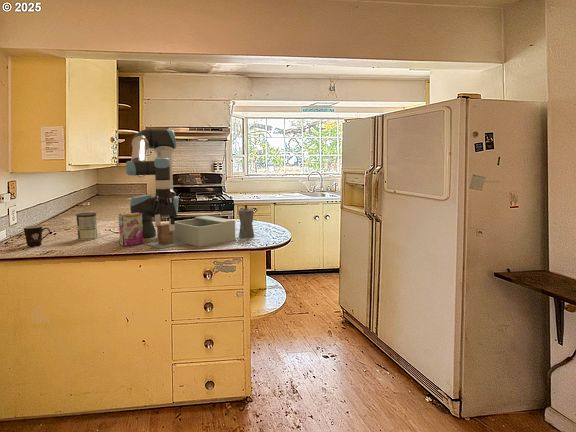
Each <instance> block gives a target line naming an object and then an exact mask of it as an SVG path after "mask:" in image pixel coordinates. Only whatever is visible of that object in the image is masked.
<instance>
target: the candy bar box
mask: <svg viewBox="0 0 576 432" xmlns="http://www.w3.org/2000/svg"><path fill="white" fill-rule="evenodd" d="M118 229H119V230H118V231H119V233H118V234H119V235H118V236H119V246H122V247H128V246H129V247H130V246H131V247H132V246H136V245H137V246H138V245H142V244H144V238H143V217H142V213H131V212H130V213H129V212H128V213H118Z"/></svg>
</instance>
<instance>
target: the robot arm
mask: <svg viewBox="0 0 576 432" xmlns="http://www.w3.org/2000/svg"><path fill="white" fill-rule="evenodd" d="M175 134H176V133H175V131H174V130H173V128H145V129H142V130H139V131H138V132H137V133H136V134H134V135H133V137H132V140H131V147H132V152H131V160H128V161H126V163H125V170H126V171H125V172H126V174H127V176H154V181H155V182H154V184H155V185H154V186H155V194H154V195H155V196H152V195H151V194H142V195H137V196H132V197H131V198H130V200H129V201H130V202H129V208H130V213H142V217H143V239H147V238H148V239H149V238H152V237H153V238H154V237H155V236H156V237H157V229H156V228H157V225H159V224H161V218H168V224H169V231H173V230H175V221H176V219H175V218H178V212H179V211H178V209H179V200H180V199H179V198H180V197H179V196H178V195H177V193H176V192H175V191H174V180H173V178H174V177H173V153H174V152H175V149H177V140H176V135H175ZM148 149H150V150H151V149H153V151H154V153H156V157H155V158H154V160H147V153H148V151H147V150H148ZM153 218H154V224H155V225H154V224H153Z"/></svg>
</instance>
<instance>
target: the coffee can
mask: <svg viewBox="0 0 576 432" xmlns="http://www.w3.org/2000/svg"><path fill="white" fill-rule="evenodd" d="M97 226H98V223H97V213H96V212H82V213H77V214H76V227H77V240H78V239H79V240H78V241H82V240H86V241H92V240H93V241H95V240H97V239H99V238H98V227H97Z"/></svg>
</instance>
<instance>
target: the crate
mask: <svg viewBox="0 0 576 432" xmlns="http://www.w3.org/2000/svg"><path fill="white" fill-rule="evenodd" d="M173 241H177V242H181V243H185V244H187V245H191V246H195V247H198V248H199V247H203V246H204V247H205V246H210V245H215V244H221V243H225V242H226V243H227V242H231V241H236V220H233V219H228V218H222V217H217V216H211V215H201V216H195V217H194V218H192V219H189V218H188V219H183V220H175V230H173Z"/></svg>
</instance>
